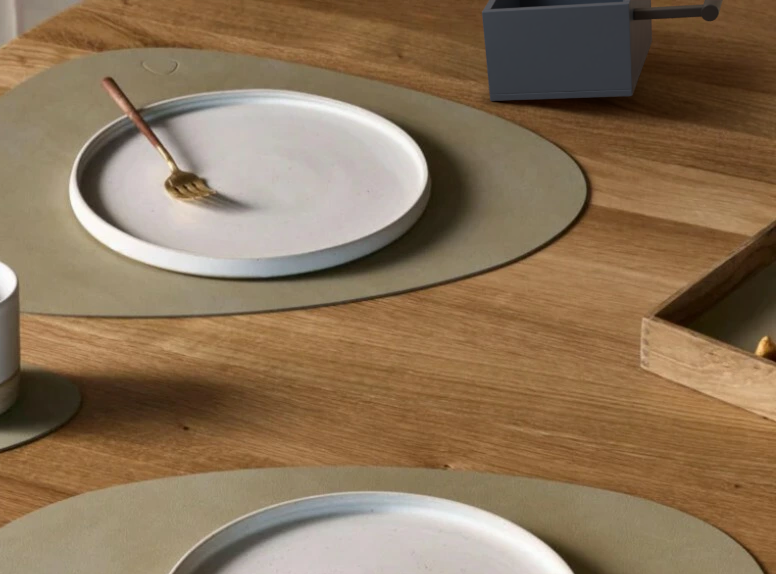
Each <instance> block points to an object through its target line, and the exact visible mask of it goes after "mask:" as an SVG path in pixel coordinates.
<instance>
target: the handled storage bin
mask: <svg viewBox="0 0 776 574" xmlns="http://www.w3.org/2000/svg"><path fill="white" fill-rule="evenodd" d="M723 2H724V1H723V0H704V1H703V4H688V5H687V4H686V5H685V4H684V5H669V6H652V0H488V1H487V3H486V5H485V6H484V8H483V9H482V11H481V16H482V29H483V40H484V50H485V60H486V71H487V83H488V92H489V93H488V94H489V100H490V102H501V101H502V102H503V101H505V102H506V101H530V100H534V101H535V100H556V99H557V100H560V99H561V100H563V99H583V98H584V99H586V98H587V99H588V98H591V99H593V98H615V97H617V98H618V97H619V98H620V97H633V96H634V93H635V90H636V88H637V85H638V82H639V79H640V76H641V73H642V70H643V67H644V65H645V62H646V59H647V57H648V54H649V51H650V48H651V45H652V43H653V26H652V25H653V22H652V21H653V20H669V19H684V18H686V19H687V18H701V19H703V20H704V21H706V22H714V21H715V20H717V18H718V17H719V15H720V11H721V6H722V4H723Z"/></svg>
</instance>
